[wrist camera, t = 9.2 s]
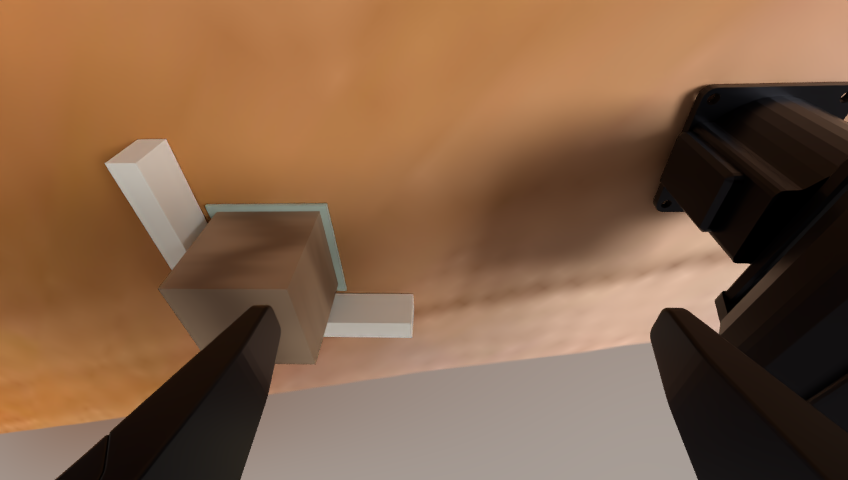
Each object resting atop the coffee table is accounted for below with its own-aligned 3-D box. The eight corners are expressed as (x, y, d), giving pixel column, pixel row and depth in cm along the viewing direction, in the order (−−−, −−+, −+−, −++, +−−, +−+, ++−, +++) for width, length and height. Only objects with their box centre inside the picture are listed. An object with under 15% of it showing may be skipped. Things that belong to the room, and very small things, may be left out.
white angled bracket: (401, 135, 19) (396, 160, 17) (414, 317, 28) (412, 346, 26) (137, 139, 20) (104, 163, 18) (233, 315, 29) (218, 344, 27)
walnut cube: (319, 211, 22) (286, 289, 17) (338, 284, 26) (315, 364, 21) (217, 211, 22) (158, 288, 18) (250, 284, 26) (209, 362, 21)
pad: (327, 203, 22) (326, 205, 22) (346, 288, 26) (346, 290, 26) (206, 204, 22) (204, 206, 22) (246, 287, 27) (245, 290, 26)
